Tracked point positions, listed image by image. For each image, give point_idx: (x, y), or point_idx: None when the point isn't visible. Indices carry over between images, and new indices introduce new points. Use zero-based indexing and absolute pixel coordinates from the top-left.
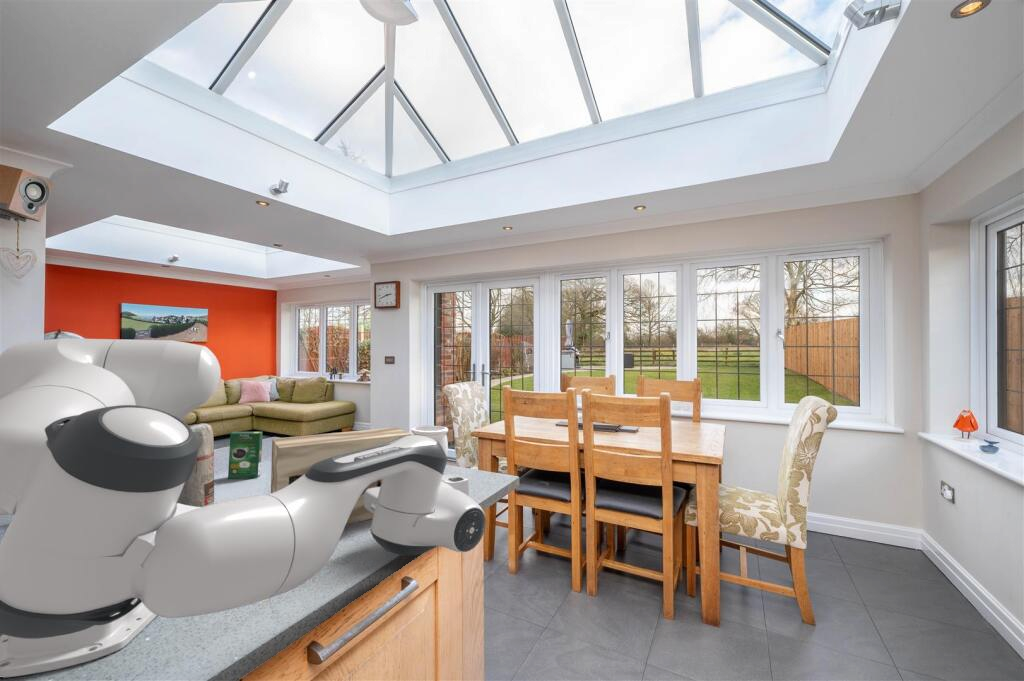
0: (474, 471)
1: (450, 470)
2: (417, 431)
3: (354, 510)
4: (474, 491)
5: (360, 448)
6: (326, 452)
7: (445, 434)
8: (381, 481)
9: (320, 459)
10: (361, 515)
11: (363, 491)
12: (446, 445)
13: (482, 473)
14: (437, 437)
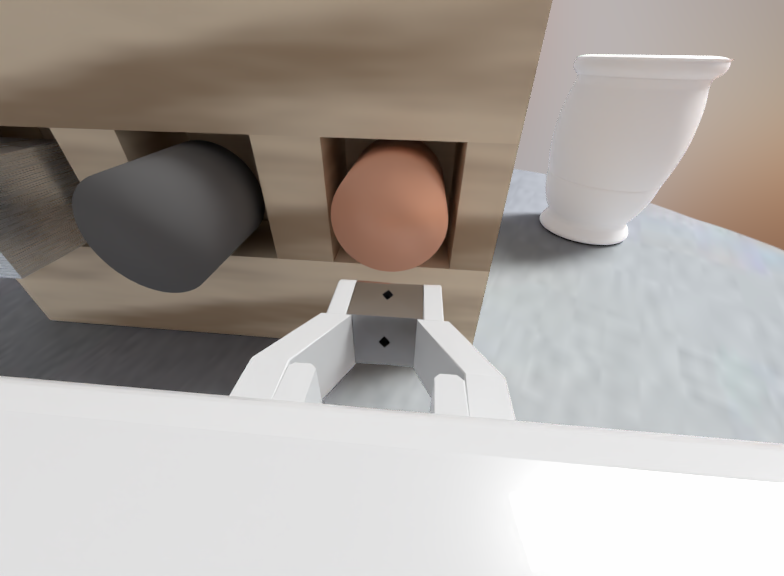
0: (731, 233)
1: (648, 212)
2: (596, 57)
3: (259, 306)
4: (764, 336)
5: (196, 8)
6: (8, 7)
7: (710, 82)
8: (337, 232)
9: (5, 52)
10: (287, 326)
11: (202, 271)
12: (693, 130)
13: (767, 248)
14: (674, 87)
